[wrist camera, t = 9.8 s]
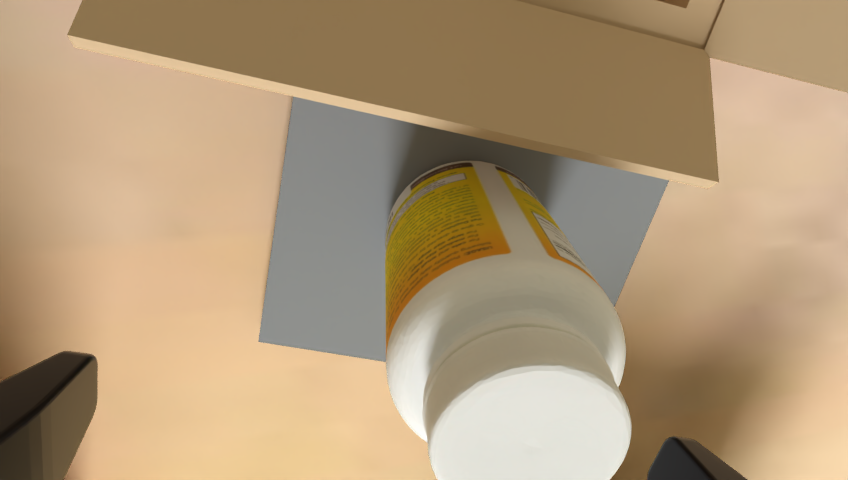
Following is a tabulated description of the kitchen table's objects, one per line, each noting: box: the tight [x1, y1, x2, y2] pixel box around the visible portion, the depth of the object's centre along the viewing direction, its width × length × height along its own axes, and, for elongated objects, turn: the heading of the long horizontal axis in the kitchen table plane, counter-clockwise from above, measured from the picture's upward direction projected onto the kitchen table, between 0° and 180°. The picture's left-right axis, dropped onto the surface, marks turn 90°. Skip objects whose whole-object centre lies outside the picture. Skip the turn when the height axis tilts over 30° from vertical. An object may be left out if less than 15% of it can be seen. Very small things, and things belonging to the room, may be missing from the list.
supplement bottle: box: [385, 161, 632, 480], centre depth 15 cm, size 6×6×10 cm
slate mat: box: [259, 96, 669, 362], centre depth 21 cm, size 13×12×1 cm
